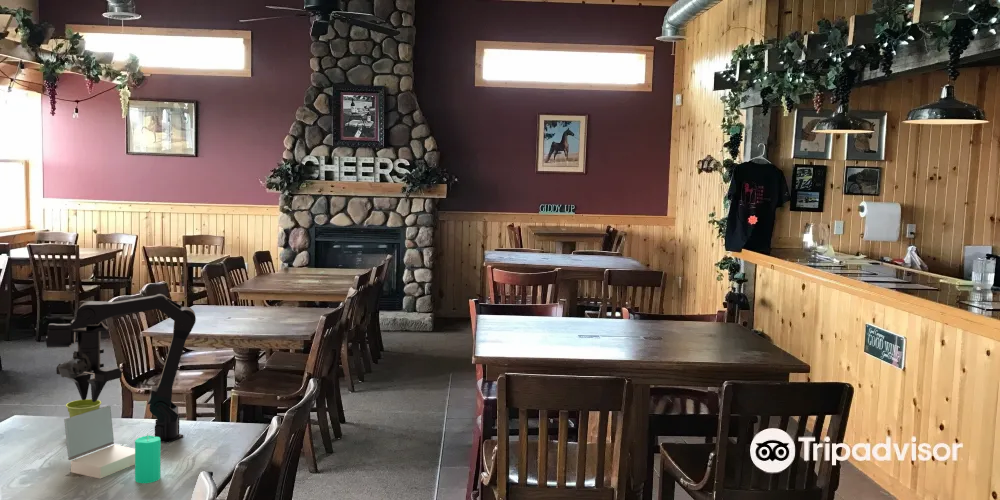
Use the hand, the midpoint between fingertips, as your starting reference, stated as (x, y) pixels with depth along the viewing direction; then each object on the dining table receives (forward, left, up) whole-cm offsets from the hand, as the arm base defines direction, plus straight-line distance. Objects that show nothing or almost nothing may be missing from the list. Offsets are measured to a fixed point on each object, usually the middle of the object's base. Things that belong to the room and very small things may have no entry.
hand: (89, 400), depth 219 cm
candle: (+12, +33, -13) cm, 37 cm away
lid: (+10, +12, -4) cm, 16 cm away
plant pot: (-8, -11, -13) cm, 19 cm away
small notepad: (+10, +18, -13) cm, 24 cm away
